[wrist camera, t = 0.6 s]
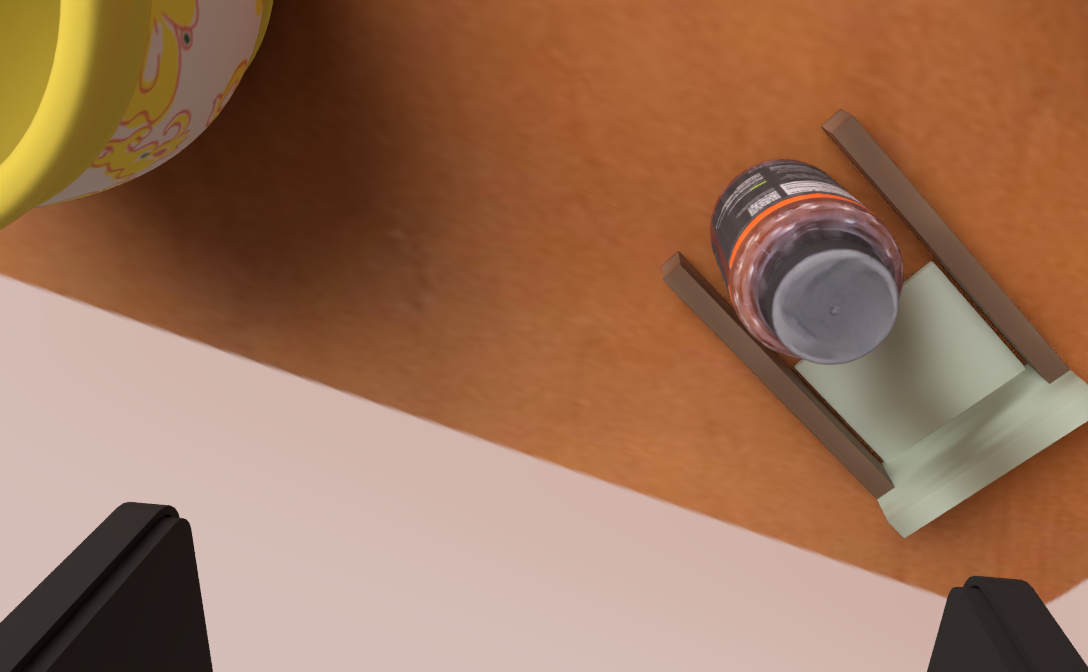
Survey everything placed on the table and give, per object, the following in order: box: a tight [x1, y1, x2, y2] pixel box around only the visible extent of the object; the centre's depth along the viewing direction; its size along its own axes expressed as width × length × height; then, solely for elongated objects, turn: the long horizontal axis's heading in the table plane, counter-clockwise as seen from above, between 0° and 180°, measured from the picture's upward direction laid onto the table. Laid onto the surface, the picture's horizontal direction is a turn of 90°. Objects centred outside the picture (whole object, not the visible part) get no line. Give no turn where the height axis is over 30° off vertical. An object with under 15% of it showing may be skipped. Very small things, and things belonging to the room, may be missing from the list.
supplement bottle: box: [710, 160, 904, 365], centre depth 31 cm, size 6×6×11 cm
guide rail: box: [662, 109, 1088, 538], centre depth 36 cm, size 10×16×4 cm, turn 45°
